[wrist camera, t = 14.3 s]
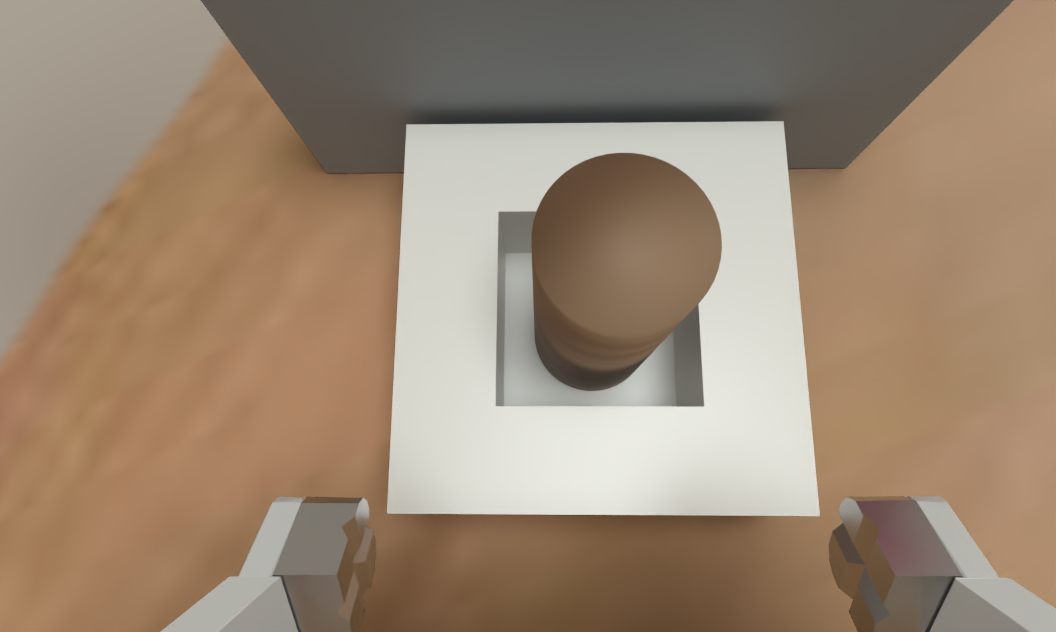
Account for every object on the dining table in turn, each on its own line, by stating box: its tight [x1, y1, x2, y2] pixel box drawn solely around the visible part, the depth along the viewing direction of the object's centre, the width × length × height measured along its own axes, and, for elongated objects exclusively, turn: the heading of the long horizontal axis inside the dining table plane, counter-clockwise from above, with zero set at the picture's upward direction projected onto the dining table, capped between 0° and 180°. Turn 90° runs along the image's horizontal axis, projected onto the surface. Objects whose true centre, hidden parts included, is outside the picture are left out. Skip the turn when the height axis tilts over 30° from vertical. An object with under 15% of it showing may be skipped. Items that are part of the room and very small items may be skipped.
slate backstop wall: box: [201, 0, 1013, 173], centre depth 21 cm, size 2×20×10 cm, turn 90°
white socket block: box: [387, 121, 820, 516], centre depth 22 cm, size 12×12×5 cm
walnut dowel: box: [531, 153, 722, 391], centre depth 19 cm, size 4×4×10 cm
